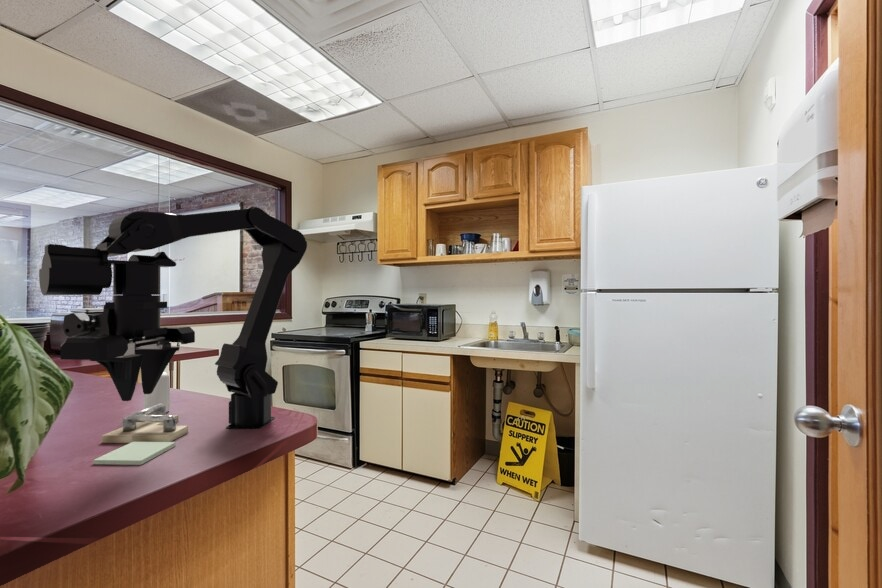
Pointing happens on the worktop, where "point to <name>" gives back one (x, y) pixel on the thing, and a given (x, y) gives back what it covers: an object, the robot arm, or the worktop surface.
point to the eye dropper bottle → (159, 393)
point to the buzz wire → (147, 427)
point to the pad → (135, 453)
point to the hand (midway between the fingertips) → (137, 397)
